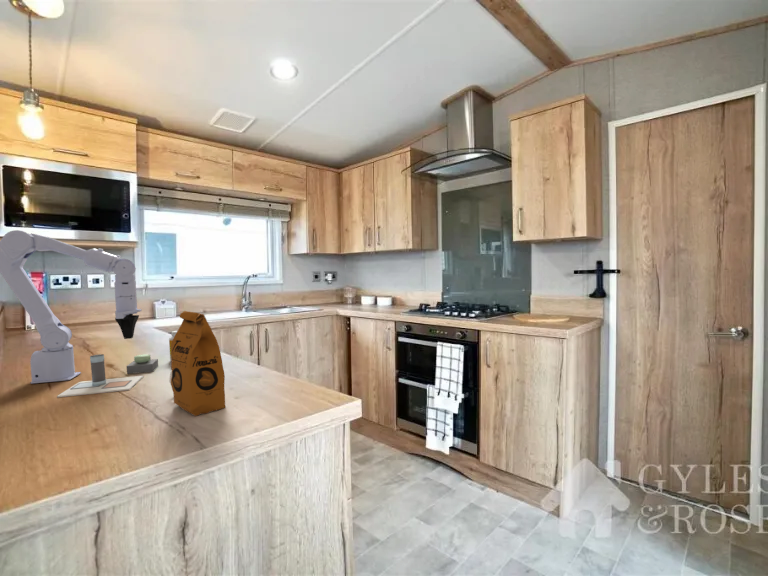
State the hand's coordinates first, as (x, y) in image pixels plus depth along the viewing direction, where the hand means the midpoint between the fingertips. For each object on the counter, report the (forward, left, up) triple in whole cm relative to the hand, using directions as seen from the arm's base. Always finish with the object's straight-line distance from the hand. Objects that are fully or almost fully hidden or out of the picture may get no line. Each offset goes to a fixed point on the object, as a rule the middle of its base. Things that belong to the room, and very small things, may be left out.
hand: (128, 338), depth 126 cm
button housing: (+5, -4, -10) cm, 11 cm away
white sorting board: (-1, -20, -10) cm, 22 cm away
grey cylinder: (-2, -19, -9) cm, 21 cm away
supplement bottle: (+13, +7, -10) cm, 18 cm away
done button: (+5, -3, -9) cm, 11 cm away
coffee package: (+27, -47, -10) cm, 55 cm away
